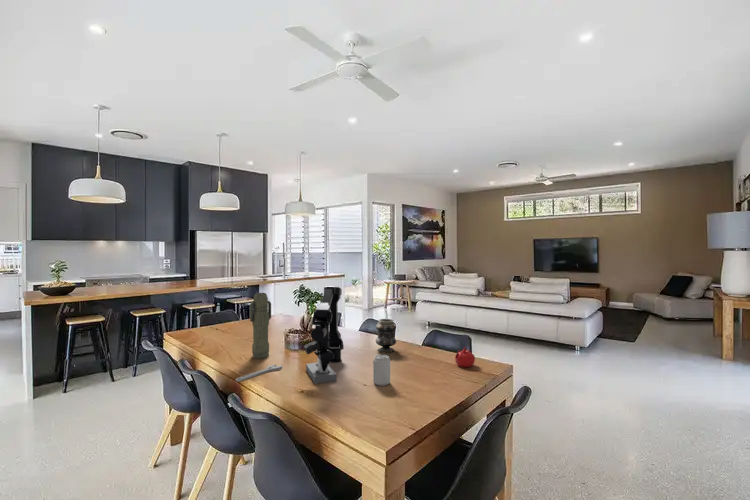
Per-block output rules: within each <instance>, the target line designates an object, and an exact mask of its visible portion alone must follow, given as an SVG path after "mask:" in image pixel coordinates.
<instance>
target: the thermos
mask: <svg viewBox="0 0 750 500" xmlns="http://www.w3.org/2000/svg"><path fill="white" fill-rule="evenodd" d="M268 297H269V296H268V295H267V293H266V292H256V293H255V294H254V296H253V300H252V302H251V303H250V304H249V320H250V322H252V323H251V324H252V326H253V327H252V329H253V330H252V331H253V333H252V334H253V335H252V336H253V337H252V339H253V342H252V347H251V349H252V350H251V351H252V359H255V360H256V359H257V360H258V359H267V358H268V357H270V354H269V353H270V343H269V325H270V320H271V319H272V302H271V301H269V299H268Z"/></svg>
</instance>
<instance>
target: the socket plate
mask: <svg viewBox="0 0 750 500" xmlns="http://www.w3.org/2000/svg"><path fill="white" fill-rule="evenodd" d="M305 371H306V372H307V374H308V375H309V377H310V379H311V380H312V382H313V383H314V385H316V384H324V383H331V382H337V377H338V376H337V373H336V371H335V370H333V368H332V367H331V366H330V364H328V373H327V374H319V375H318V362H311V363H305Z"/></svg>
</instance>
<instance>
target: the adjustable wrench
mask: <svg viewBox="0 0 750 500" xmlns="http://www.w3.org/2000/svg"><path fill="white" fill-rule="evenodd" d="M282 369H283V365H282V364H280V365H279V366H277V364H276V363H275V364H270V365H267V366H266V368H263V369H260V370H257V371H254V372H252V373H248V374H246V375H242V376H239V377H237V378H235V382H242V381H245V380H248V379H252V378H254V377H258V376H261V375H263V374H265V373H270V372H274V371H280V370H282Z"/></svg>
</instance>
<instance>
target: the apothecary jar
mask: <svg viewBox="0 0 750 500" xmlns="http://www.w3.org/2000/svg"><path fill="white" fill-rule="evenodd" d="M375 328H376V330H377V337H376V338H375V343H376V344H377V345H378V346H380V347H379V348H378V349H377V352H378V351H380V352H379V353H382V352H390V353H393V352H392V351H394V352H395V349H394V348H392V346H394V345H396V343H397V339H396V338H395V330H396V329H397V325H396V324H395V322H394V320H393V319H390V318H380V319H378V322H377V324H376V326H375Z"/></svg>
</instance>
